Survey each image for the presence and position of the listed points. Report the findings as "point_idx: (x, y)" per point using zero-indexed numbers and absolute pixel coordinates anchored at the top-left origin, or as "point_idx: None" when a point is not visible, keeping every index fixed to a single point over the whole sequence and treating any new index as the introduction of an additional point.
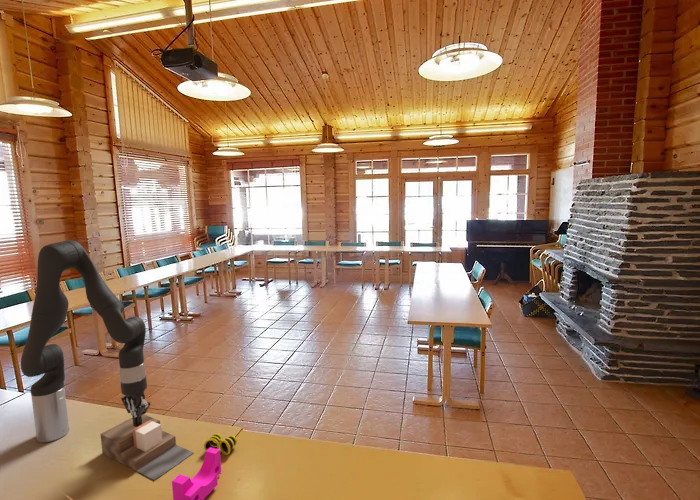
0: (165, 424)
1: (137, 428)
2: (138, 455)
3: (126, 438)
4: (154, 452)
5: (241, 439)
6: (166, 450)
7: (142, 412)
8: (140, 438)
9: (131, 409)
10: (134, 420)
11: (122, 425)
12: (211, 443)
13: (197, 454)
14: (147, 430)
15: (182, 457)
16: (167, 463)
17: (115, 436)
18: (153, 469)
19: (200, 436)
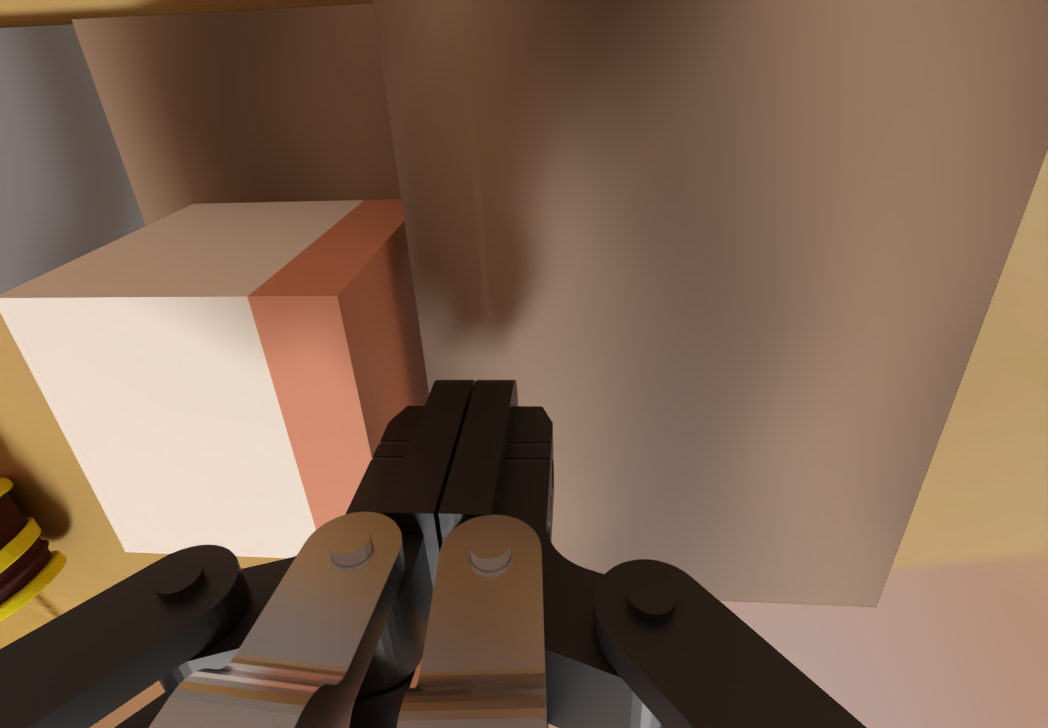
0: None
1: (297, 355)
2: (174, 114)
3: (422, 156)
4: None
5: (15, 625)
6: None
7: (168, 689)
8: (172, 255)
9: (405, 717)
10: (434, 456)
11: (881, 342)
12: (40, 542)
13: (40, 432)
14: (93, 393)
15: None
16: (59, 254)
17: (679, 84)
18: (52, 132)
19: (255, 563)
